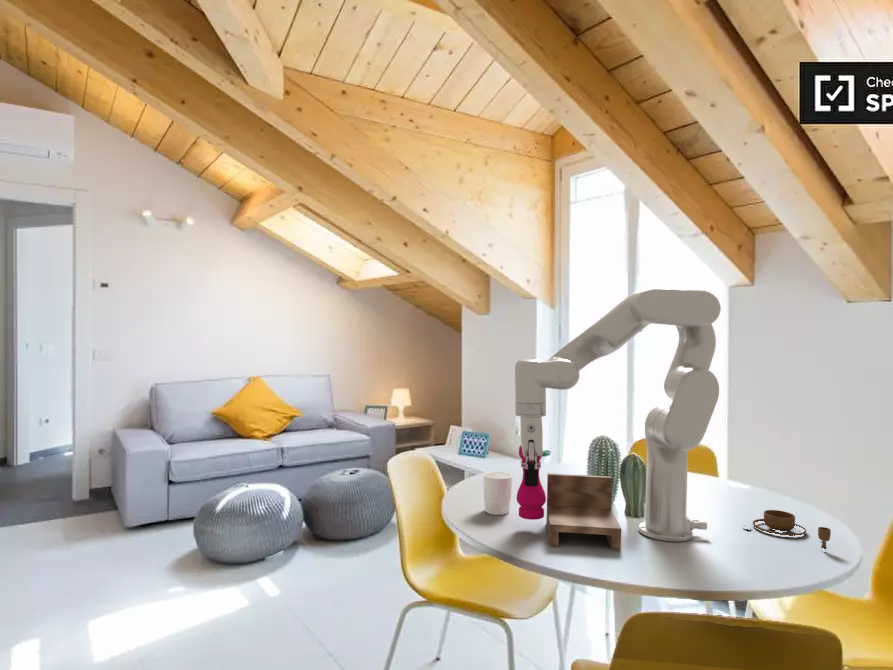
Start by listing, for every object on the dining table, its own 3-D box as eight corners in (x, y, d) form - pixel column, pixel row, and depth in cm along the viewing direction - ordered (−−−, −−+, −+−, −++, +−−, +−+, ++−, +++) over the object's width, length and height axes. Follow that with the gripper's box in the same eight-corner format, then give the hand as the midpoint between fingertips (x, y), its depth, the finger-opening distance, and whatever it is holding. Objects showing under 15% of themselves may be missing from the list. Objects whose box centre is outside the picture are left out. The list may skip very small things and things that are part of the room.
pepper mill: (547, 512, 150) (547, 433, 149) (544, 521, 143) (543, 438, 142) (519, 510, 152) (518, 432, 151) (514, 519, 145) (513, 437, 144)
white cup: (510, 517, 157) (510, 479, 157) (480, 514, 159) (481, 477, 159) (512, 508, 165) (513, 472, 165) (484, 506, 167) (485, 470, 167)
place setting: (813, 530, 154) (814, 507, 154) (835, 557, 135) (836, 531, 135) (738, 521, 160) (739, 499, 159) (749, 546, 141) (750, 521, 141)
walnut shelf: (610, 527, 151) (611, 476, 150) (620, 550, 135) (622, 493, 135) (546, 523, 152) (547, 473, 152) (549, 545, 137) (550, 489, 137)
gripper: (547, 414, 138) (548, 492, 138) (544, 405, 155) (545, 474, 155) (515, 414, 139) (515, 491, 139) (515, 405, 156) (516, 474, 156)
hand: (531, 481), depth 147 cm, fingers closed on pepper mill, 5 cm apart
